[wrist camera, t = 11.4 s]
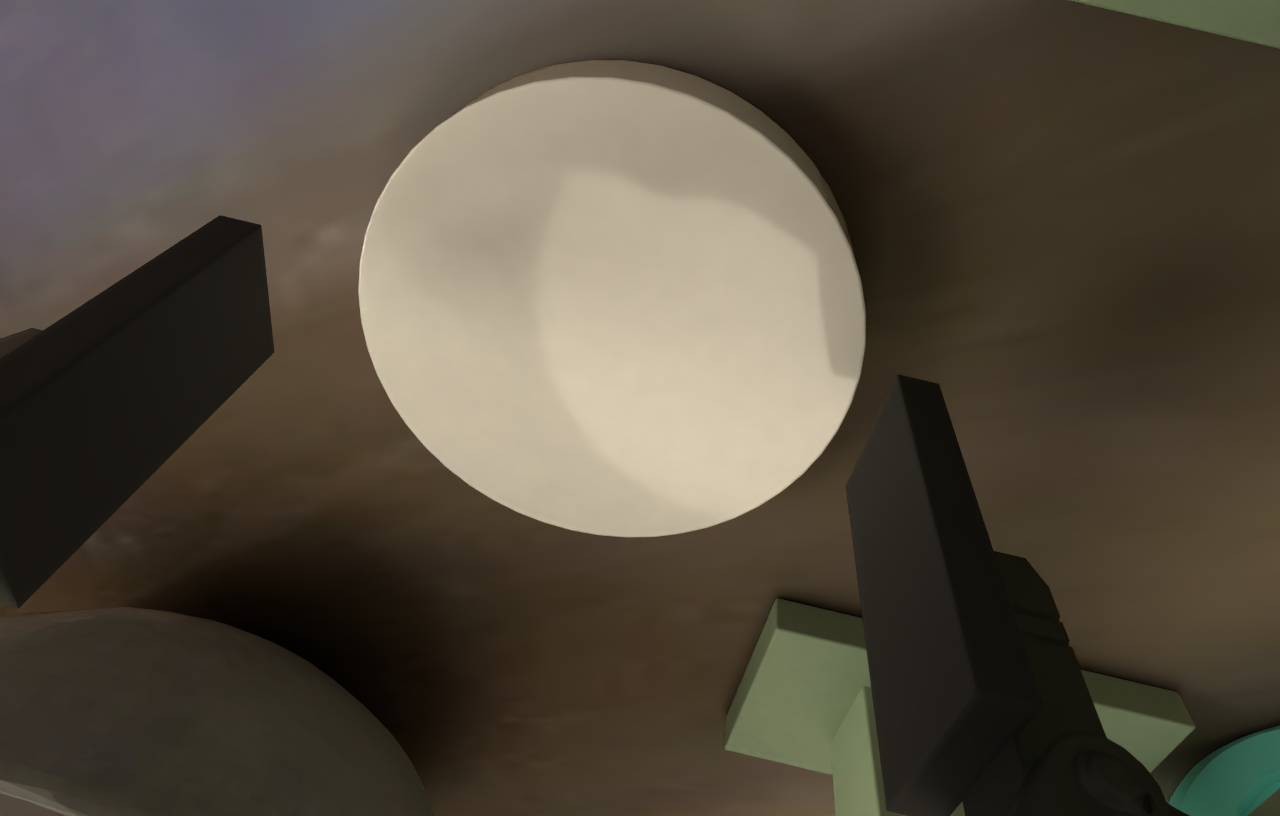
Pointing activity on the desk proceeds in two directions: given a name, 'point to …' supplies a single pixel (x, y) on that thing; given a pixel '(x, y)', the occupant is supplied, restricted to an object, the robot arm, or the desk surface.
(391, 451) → the desk surface
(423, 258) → the plate
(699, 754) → the desk surface
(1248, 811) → the decorative dice
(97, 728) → the bowl
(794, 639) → the green bench arch
